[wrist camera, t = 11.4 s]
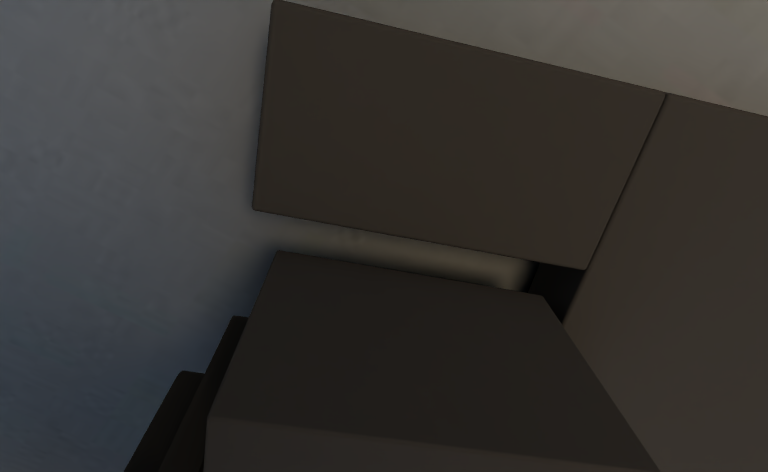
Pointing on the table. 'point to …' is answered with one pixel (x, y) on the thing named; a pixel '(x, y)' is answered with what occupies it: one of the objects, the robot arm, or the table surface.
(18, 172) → the table surface
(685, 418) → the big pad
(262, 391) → the dark brown block
